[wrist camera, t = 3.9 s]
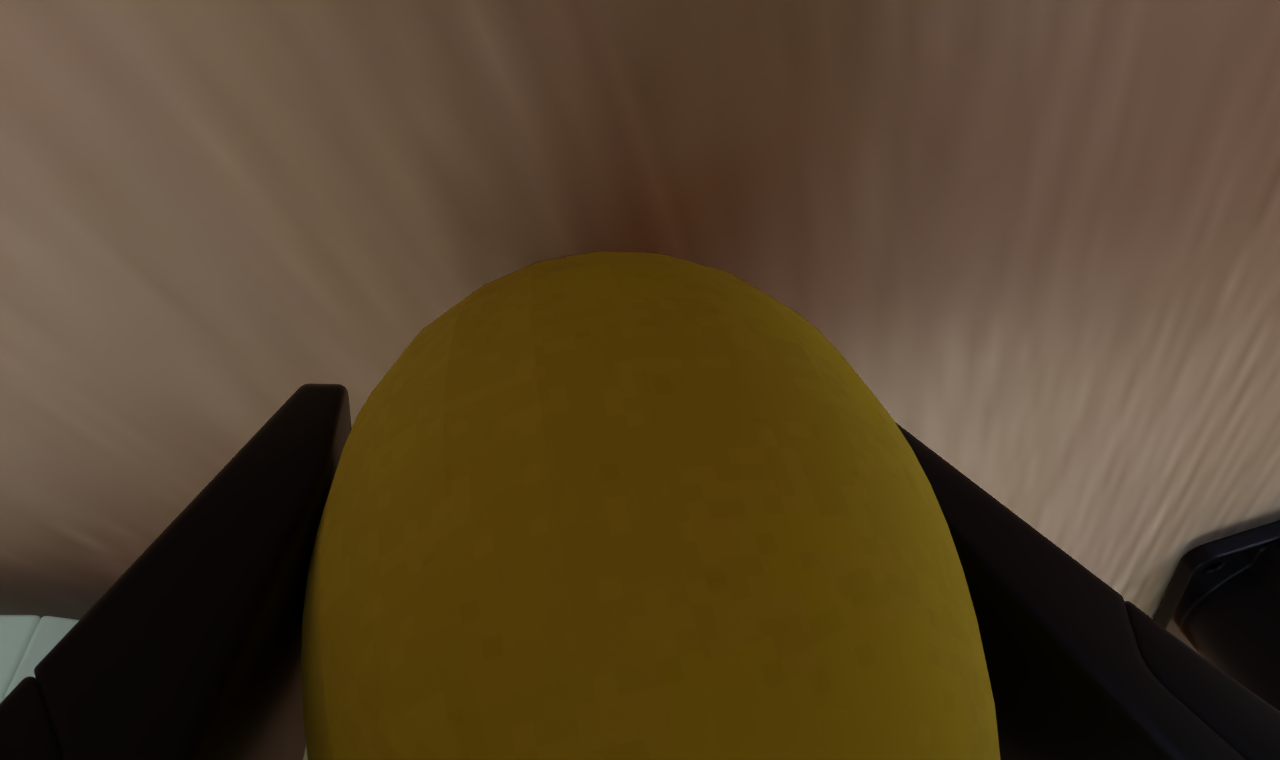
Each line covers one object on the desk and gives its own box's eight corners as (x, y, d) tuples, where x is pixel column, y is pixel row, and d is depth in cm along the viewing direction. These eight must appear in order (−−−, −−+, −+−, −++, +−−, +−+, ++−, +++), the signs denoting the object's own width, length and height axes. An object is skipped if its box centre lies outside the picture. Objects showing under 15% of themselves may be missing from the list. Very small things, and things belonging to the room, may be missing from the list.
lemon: (776, 61, 8) (1712, 1123, 2) (785, 409, 12) (1105, 1108, 6) (269, 182, 8) (-340, 1671, 2) (450, 492, 11) (434, 1285, 6)
